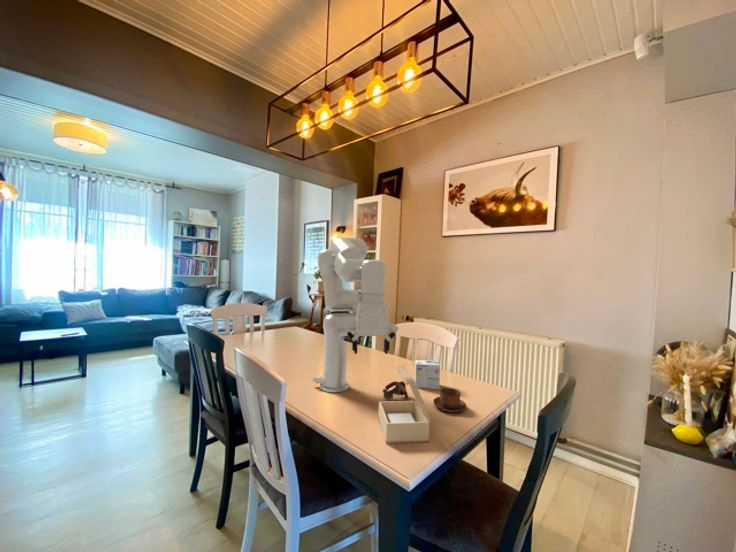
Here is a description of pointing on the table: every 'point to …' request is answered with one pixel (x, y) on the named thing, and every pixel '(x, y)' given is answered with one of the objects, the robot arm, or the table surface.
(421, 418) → the box
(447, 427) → the table surface
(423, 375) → the light bulb box
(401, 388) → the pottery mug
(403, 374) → the lid
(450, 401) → the cup and saucer
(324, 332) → the robot arm
